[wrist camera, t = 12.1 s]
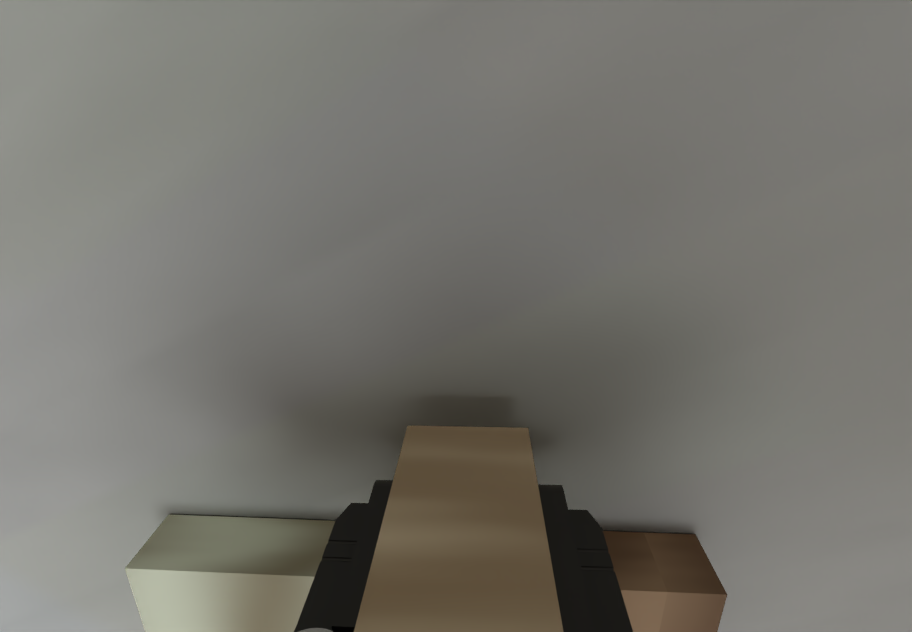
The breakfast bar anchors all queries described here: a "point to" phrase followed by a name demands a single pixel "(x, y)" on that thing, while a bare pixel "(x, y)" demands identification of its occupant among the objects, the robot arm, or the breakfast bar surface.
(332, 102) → the breakfast bar surface
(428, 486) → the l-shaped wooden block
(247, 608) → the wooden tray
